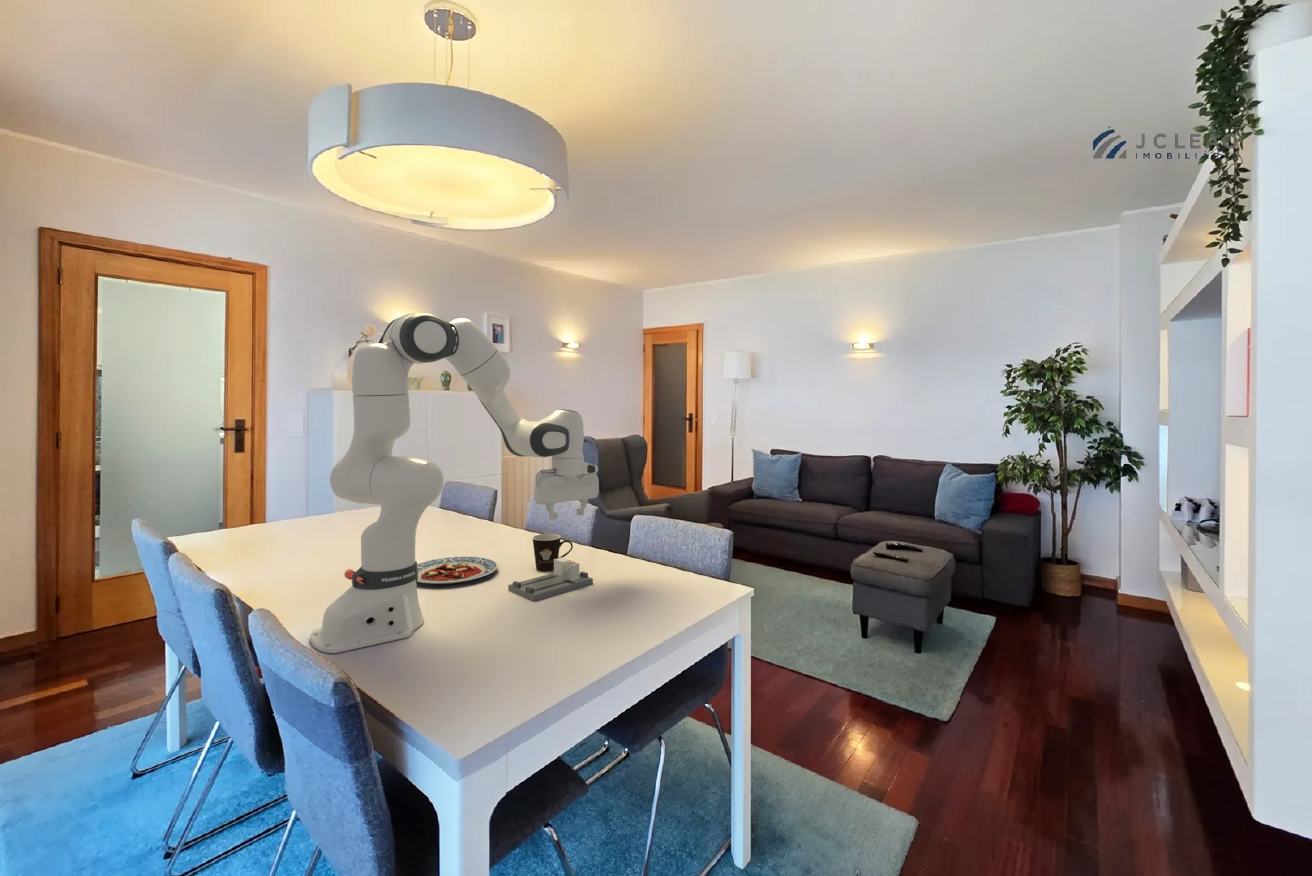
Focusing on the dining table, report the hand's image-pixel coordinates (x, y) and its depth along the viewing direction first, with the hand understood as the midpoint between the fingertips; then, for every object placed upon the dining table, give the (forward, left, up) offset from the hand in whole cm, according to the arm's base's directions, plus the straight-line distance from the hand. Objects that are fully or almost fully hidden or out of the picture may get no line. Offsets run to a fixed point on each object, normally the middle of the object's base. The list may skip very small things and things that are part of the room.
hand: (567, 517), depth 153 cm
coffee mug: (+6, +16, -20) cm, 27 cm away
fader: (+1, -1, -18) cm, 18 cm away
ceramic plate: (-18, +32, -20) cm, 42 cm away
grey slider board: (-4, +2, -20) cm, 20 cm away
